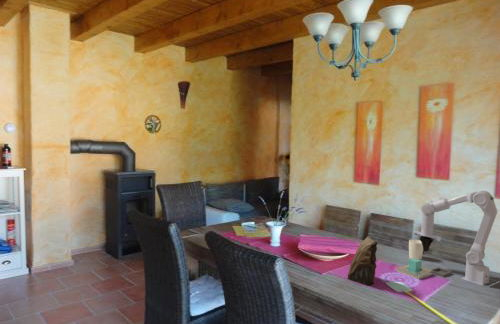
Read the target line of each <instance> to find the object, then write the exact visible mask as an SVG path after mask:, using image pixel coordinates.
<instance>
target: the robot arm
mask: <svg viewBox="0 0 500 324" xmlns="http://www.w3.org/2000/svg"><path fill="white" fill-rule="evenodd" d="M465 202H466V203H470V204H473V203H474V204H475V205H476V206H477V207H478V208H480V209H481V210H482V212H483V216H482V219H481V222H480V224H479V228H478V230H477V232H476V235H475V238H474V240H473V241H474V242H473V243H472V246H471V247H470V249H469V251H467V252H466V253H465V259H466V261H465V262H466V263H465V273H464V274H465V275H464V276H462V277H461V279H462V280H465V281H467V282H471V283H474V284H476V285H480V286H484V285H486V284H488V283H490V272H491V271H490V267H489V266H487V265H485V263H484V261H483V260H484V258H485V257H486V256H485V255H486V254H485V249H486V245H487V242H488V239H489V236H490V234H491V231H492V228H493V226H494V222H495V220H496V218H497V215H498V209H497V205H496V202H495V198H494V196H493V195H492V194H491V193H490V192H489V191H487V190H480V191H474V192H469V193H465V194H462V195H459V196H456V197H453V198H450V199H448V198H445V197H440V198H438V199H436V200H430V201H429V202H427V203H424V204H422V206H421V208H420V211H421V213H422V214H421V229H420V231H419V230H412V235H416V236H419V240H420V241H421V242H422V245H423V252H428V251H429V250H430V246H431V244H432V243H433V242H434V240H435V241H437V242H441V241H442V236H439V235H436V234H434V224H435V223H434V222H435V213H440V212H443V211H446V210H450V209H451V206H453V205H457V204H462V203H465Z"/></svg>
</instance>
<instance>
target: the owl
mask: <svg viewBox="0 0 500 324" xmlns="http://www.w3.org/2000/svg"><path fill="white" fill-rule="evenodd" d="M377 245H378V242H377V241H376V240H375V239H374V240H373V239H371V237H370V236H368V235H367V236H366V238H365V239H364V240H363V241H362V242H361V243H360V244H359V245H358V247H357V249H356V250H355V251H356V252H355V254H354V256H353V259H352V261H351V262H350V265H349V269H348V271H347V272H348V273H347V277H346V278H347V280H349V281H352V282H355V283H359V284H362V285H364V286H369V287H370V286H373V285H374V284H375V283H374V279H375V276H376V268H377V264H376V262H377V256H376V254H377V251H378V248H377Z"/></svg>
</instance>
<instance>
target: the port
mask: <svg viewBox="0 0 500 324" xmlns="http://www.w3.org/2000/svg"><path fill="white" fill-rule="evenodd" d="M396 272H398V273H400V274H403V275H405V276H409V277H411V278H413V279H416V280H422V279H424V278H427V277H430V276H432V275H433V274H432V270H431V269H429V268H425V267H422V266H421V271H418V272H414V271H411V270H408V263H407V264H404V265H401V266H398V267H397V266H396Z"/></svg>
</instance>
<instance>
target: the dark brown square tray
mask: <svg viewBox="0 0 500 324" xmlns="http://www.w3.org/2000/svg"><path fill="white" fill-rule="evenodd" d="M430 270H432V275H435V276H438V277H441V278H444V279H445V278H449V277H452V276H454V275H455V273H453V271H451V270H448V269H445V268H442V267H434V268H431V269H430Z"/></svg>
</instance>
